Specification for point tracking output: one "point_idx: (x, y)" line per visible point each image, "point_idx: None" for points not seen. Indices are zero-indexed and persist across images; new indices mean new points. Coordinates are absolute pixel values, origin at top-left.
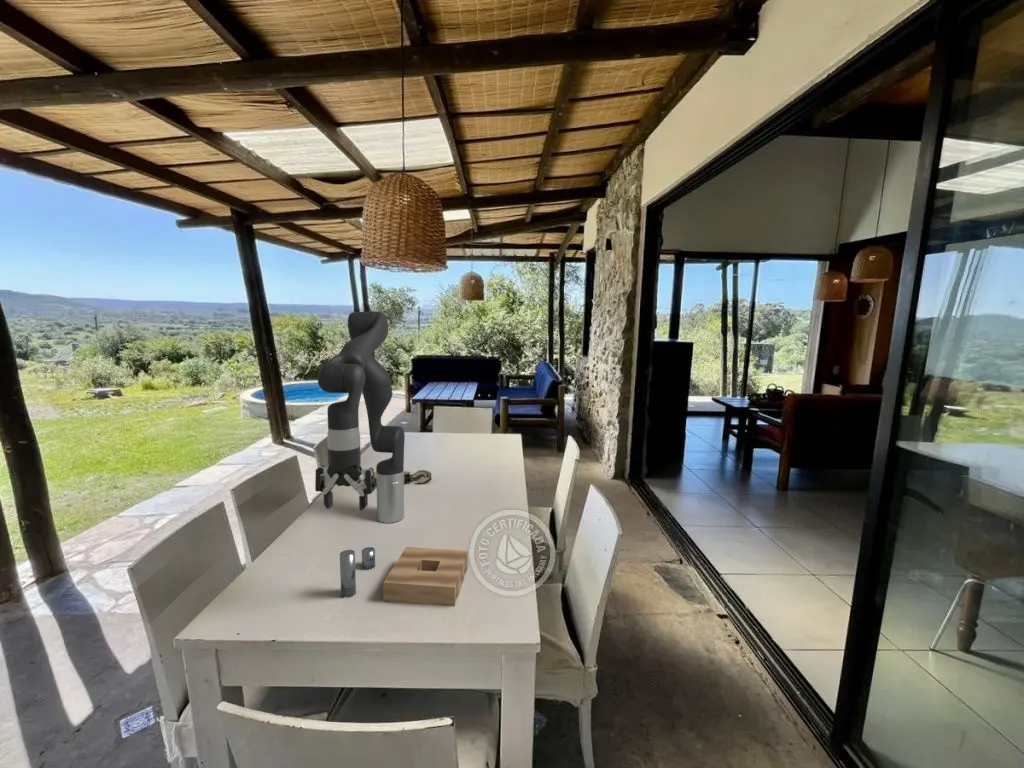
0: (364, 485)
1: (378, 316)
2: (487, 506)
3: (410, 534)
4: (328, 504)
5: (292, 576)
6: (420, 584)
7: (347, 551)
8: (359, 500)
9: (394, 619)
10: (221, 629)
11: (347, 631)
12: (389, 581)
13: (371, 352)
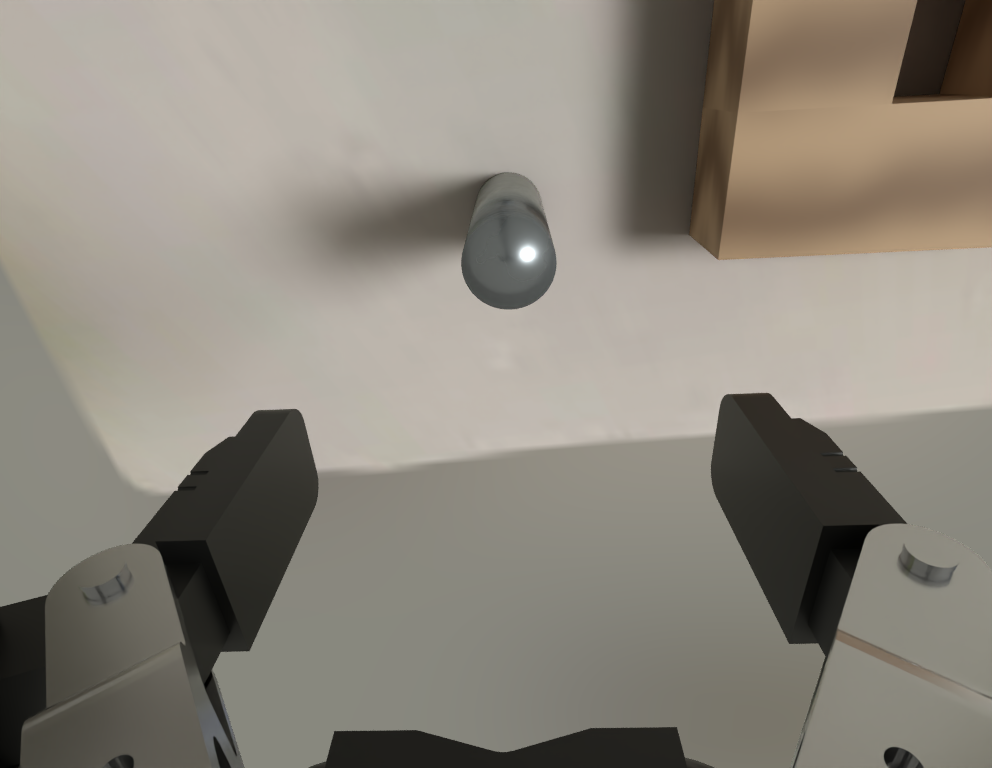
0: (985, 678)
1: None
2: None
3: None
4: (301, 534)
5: (146, 108)
6: (919, 246)
7: (498, 242)
8: (765, 585)
9: (760, 336)
10: None
11: (608, 414)
12: (748, 246)
13: None
